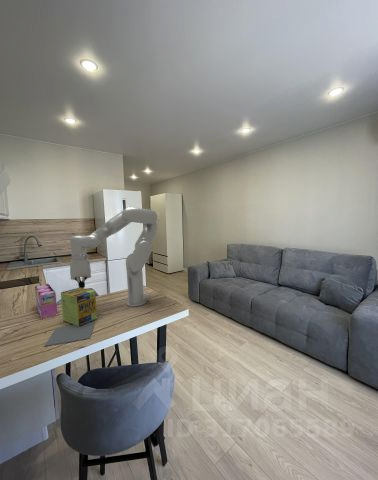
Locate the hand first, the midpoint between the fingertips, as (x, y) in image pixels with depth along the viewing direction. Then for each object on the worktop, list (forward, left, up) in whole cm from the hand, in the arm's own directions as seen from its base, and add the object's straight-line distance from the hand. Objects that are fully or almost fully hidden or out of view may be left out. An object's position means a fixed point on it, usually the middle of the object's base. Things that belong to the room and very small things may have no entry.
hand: (82, 288), depth 122 cm
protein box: (0, +11, -14) cm, 18 cm away
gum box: (+22, -10, -14) cm, 28 cm away
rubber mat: (+1, +24, -14) cm, 28 cm away
